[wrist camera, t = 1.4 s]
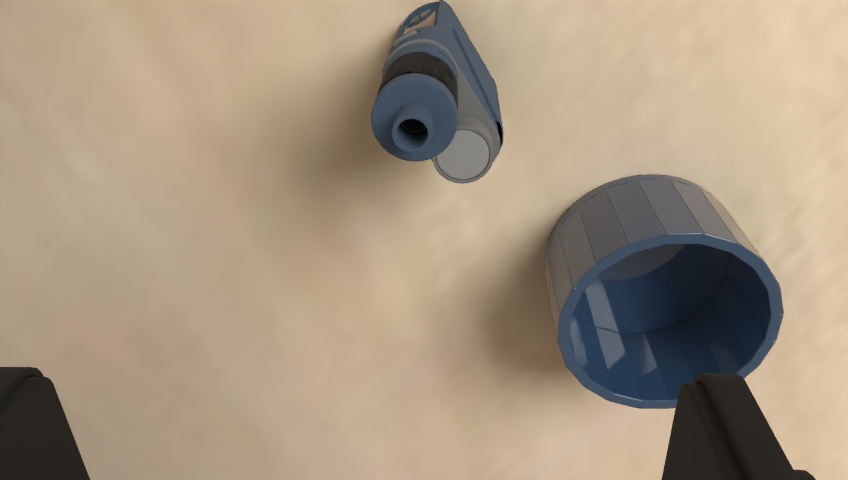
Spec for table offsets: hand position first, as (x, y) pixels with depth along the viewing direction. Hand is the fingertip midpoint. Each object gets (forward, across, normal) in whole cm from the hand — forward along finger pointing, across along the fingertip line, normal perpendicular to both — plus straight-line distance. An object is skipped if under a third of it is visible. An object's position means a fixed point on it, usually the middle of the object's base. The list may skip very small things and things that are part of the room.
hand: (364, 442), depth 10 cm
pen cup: (+21, -10, +9) cm, 25 cm away
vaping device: (+21, -1, 0) cm, 21 cm away
